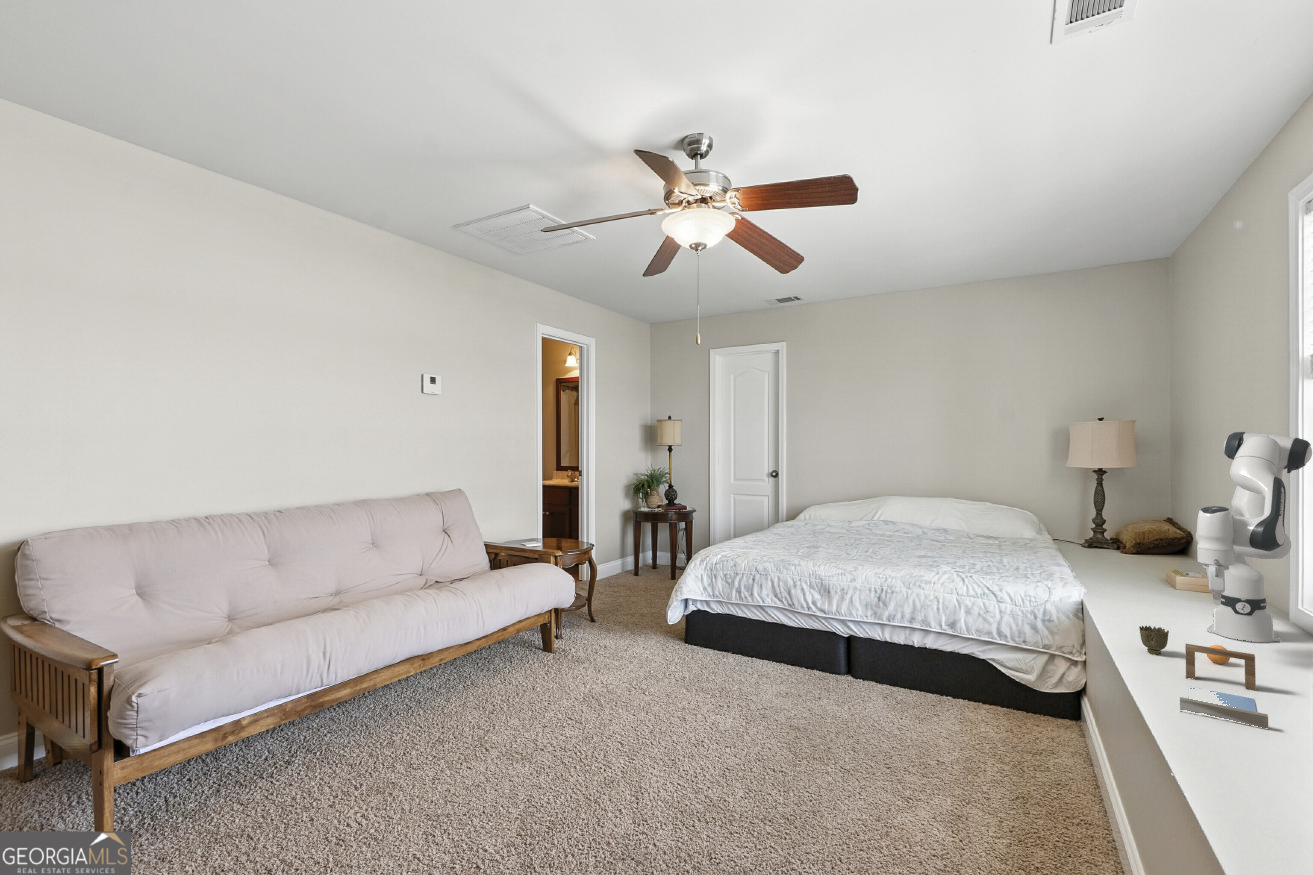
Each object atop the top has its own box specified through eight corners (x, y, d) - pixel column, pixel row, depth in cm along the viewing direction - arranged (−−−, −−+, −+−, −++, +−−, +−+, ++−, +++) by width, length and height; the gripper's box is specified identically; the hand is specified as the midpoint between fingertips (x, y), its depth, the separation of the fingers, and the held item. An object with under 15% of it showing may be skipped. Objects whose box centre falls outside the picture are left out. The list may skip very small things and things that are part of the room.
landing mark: (1189, 686, 173) (1189, 686, 173) (1253, 699, 164) (1253, 698, 164) (1188, 701, 163) (1188, 701, 163) (1257, 715, 154) (1257, 715, 154)
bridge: (1186, 674, 182) (1185, 643, 182) (1255, 687, 172) (1254, 654, 172) (1186, 677, 179) (1185, 646, 179) (1255, 690, 170) (1255, 657, 170)
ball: (1206, 658, 195) (1205, 641, 195) (1230, 662, 191) (1229, 644, 191) (1206, 663, 190) (1206, 645, 190) (1230, 667, 187) (1230, 649, 187)
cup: (1174, 657, 196) (1174, 632, 196) (1148, 656, 197) (1147, 631, 197) (1160, 650, 203) (1160, 625, 203) (1134, 648, 204) (1134, 624, 205)
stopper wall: (1180, 708, 159) (1180, 696, 159) (1267, 726, 149) (1267, 714, 149) (1180, 711, 158) (1179, 699, 158) (1268, 729, 147) (1268, 716, 147)
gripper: (1230, 563, 188) (1231, 609, 188) (1227, 554, 204) (1228, 596, 204) (1202, 561, 193) (1203, 606, 193) (1202, 552, 208) (1203, 593, 208)
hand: (1216, 601), depth 198 cm, fingers open, 8 cm apart
